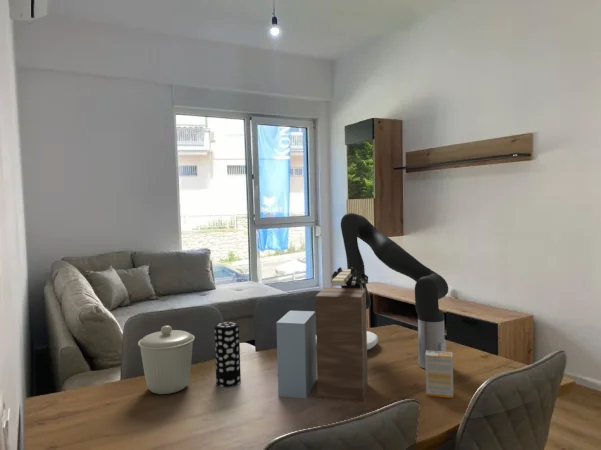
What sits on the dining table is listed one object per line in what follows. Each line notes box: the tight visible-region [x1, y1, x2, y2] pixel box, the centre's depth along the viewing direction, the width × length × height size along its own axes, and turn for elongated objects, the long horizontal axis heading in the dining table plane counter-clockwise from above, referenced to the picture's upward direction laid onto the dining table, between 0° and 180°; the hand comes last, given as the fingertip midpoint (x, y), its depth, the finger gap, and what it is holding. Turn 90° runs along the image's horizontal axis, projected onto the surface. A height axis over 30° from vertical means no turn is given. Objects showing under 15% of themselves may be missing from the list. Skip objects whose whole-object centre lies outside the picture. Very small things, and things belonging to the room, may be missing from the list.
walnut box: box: [315, 287, 368, 403], centre depth 145 cm, size 14×14×32 cm
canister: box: [137, 325, 195, 395], centre depth 151 cm, size 18×18×21 cm
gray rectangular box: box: [275, 310, 317, 399], centre depth 149 cm, size 16×9×24 cm, turn 166°
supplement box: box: [425, 350, 454, 399], centre depth 141 cm, size 8×5×13 cm, turn 71°
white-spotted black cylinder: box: [213, 320, 242, 388], centre depth 155 cm, size 8×8×20 cm
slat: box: [331, 268, 352, 287], centre depth 149 cm, size 24×4×2 cm, turn 166°
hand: (345, 270), depth 155 cm, fingers closed on slat, 3 cm apart
